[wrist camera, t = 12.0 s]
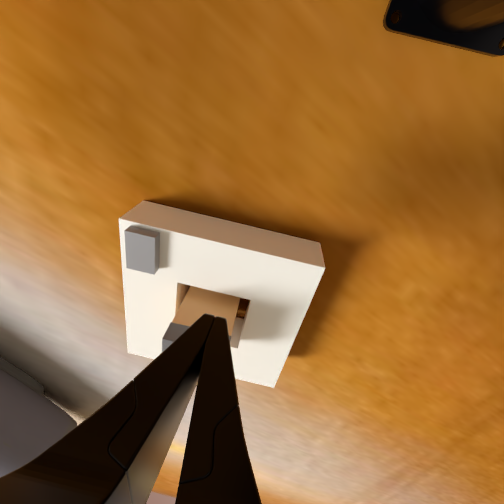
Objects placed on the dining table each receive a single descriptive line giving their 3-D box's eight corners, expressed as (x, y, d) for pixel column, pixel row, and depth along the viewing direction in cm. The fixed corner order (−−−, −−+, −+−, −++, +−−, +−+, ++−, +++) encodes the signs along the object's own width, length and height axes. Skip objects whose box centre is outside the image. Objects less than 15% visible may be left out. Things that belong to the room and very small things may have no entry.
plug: (245, 277, 23) (227, 353, 16) (237, 311, 25) (218, 391, 18) (199, 266, 23) (162, 338, 16) (195, 301, 25) (161, 378, 18)
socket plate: (320, 242, 21) (326, 275, 17) (275, 356, 28) (273, 396, 24) (143, 200, 21) (111, 223, 17) (145, 325, 28) (123, 360, 24)
